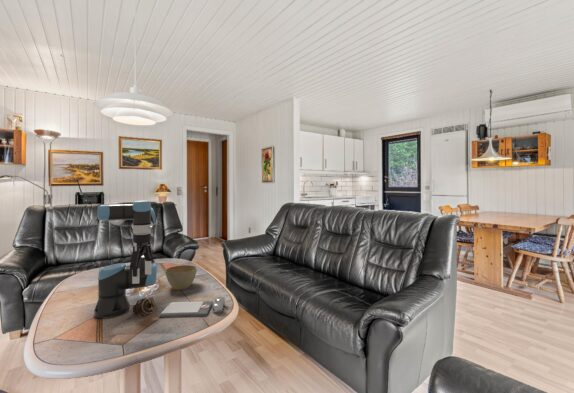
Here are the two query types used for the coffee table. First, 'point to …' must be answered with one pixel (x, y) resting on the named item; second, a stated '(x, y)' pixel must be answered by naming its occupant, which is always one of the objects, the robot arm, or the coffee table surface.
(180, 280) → the olive beige round bowl
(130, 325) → the coffee table surface
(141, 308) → the mechanical counter
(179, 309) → the dial scale
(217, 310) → the cylinder
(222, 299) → the cylinder
